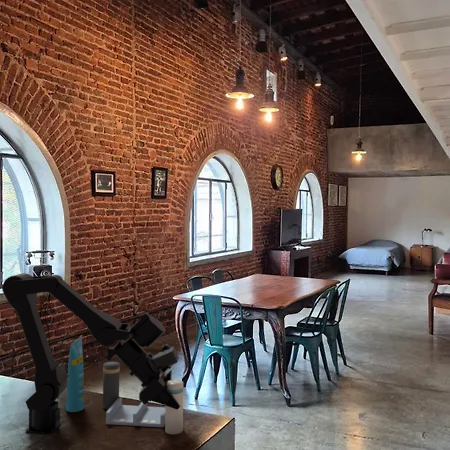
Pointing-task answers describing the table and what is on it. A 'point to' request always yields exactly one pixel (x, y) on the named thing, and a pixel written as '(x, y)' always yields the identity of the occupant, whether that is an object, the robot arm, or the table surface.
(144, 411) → the slot rack
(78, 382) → the tube
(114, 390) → the grey bottle
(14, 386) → the table surface
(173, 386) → the white bottle
